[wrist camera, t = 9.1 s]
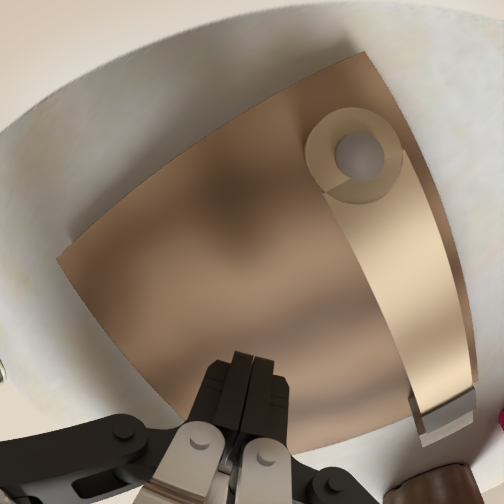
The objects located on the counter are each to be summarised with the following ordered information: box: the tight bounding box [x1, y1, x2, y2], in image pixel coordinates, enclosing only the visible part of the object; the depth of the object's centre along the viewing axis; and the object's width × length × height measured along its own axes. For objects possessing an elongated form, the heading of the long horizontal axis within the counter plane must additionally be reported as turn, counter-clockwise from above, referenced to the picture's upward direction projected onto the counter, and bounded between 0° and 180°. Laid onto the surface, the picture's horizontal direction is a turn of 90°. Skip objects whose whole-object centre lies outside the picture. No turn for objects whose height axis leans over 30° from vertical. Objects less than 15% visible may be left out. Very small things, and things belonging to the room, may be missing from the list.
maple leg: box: [304, 107, 476, 434], centre depth 11 cm, size 16×3×4 cm, turn 32°
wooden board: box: [56, 51, 478, 457], centre depth 14 cm, size 21×20×5 cm
